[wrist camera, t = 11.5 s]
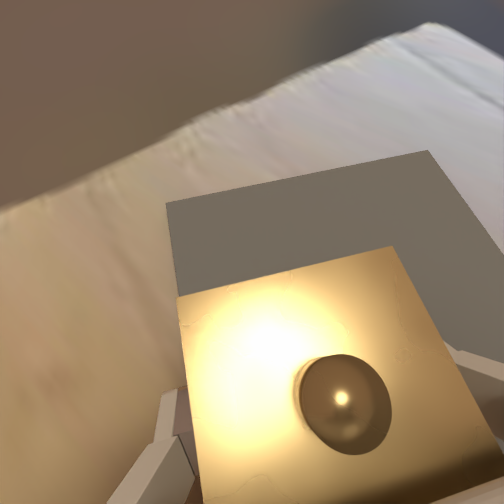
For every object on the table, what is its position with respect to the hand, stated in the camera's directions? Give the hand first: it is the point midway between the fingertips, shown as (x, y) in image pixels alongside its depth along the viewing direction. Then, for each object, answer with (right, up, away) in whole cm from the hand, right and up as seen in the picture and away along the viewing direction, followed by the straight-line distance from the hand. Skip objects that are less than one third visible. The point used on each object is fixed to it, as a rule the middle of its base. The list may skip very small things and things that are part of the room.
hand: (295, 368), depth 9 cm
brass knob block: (0, -2, +4) cm, 5 cm away
